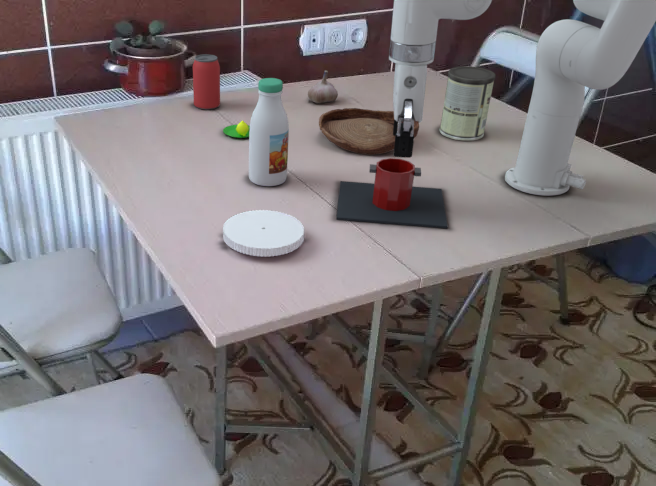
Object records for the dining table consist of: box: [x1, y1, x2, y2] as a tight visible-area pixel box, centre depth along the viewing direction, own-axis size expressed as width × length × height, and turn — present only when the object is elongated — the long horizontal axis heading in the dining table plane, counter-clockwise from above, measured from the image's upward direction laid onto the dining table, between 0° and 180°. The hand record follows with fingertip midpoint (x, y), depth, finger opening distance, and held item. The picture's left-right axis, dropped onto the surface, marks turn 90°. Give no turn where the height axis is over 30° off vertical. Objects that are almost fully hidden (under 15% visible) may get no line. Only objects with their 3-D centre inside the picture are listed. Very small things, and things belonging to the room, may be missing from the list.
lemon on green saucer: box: [222, 120, 250, 139], centre depth 171 cm, size 8×8×3 cm
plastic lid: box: [222, 209, 305, 258], centre depth 129 cm, size 14×14×2 cm
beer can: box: [192, 53, 221, 111], centre depth 183 cm, size 7×7×12 cm
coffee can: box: [438, 65, 497, 142], centre depth 171 cm, size 10×10×14 cm
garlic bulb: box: [307, 69, 339, 104], centre depth 189 cm, size 8×7×8 cm
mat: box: [336, 180, 448, 229], centre depth 142 cm, size 20×16×1 cm
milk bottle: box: [248, 77, 290, 187], centre depth 145 cm, size 8×8×20 cm
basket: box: [318, 107, 420, 156], centre depth 169 cm, size 22×20×5 cm
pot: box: [368, 157, 422, 211], centre depth 140 cm, size 9×7×8 cm
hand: (401, 145), depth 136 cm, fingers open, 9 cm apart
